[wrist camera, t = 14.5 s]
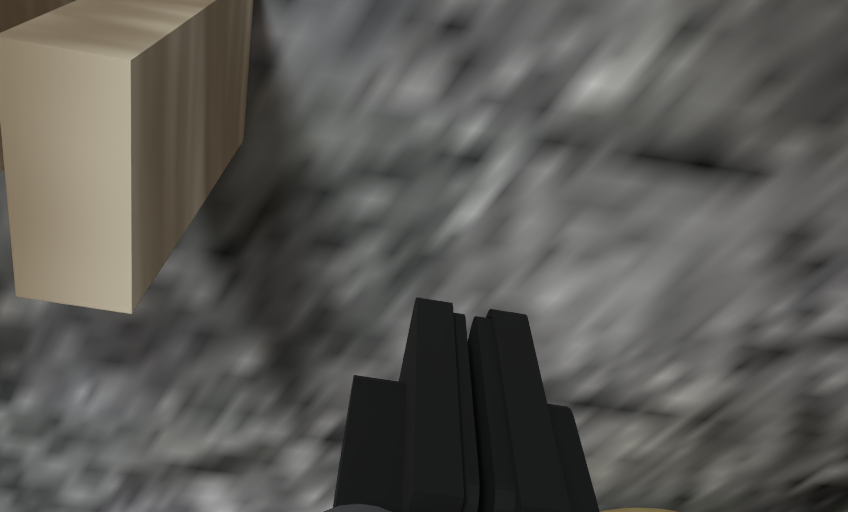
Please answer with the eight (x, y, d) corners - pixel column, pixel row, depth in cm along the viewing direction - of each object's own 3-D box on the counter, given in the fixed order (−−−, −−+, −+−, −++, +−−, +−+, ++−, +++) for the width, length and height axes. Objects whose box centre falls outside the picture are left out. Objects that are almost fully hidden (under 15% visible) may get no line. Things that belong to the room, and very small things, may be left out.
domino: (255, -28, 21) (130, 60, 12) (243, 139, 24) (132, 314, 15) (176, -43, 21) (-8, 36, 12) (172, 127, 23) (16, 296, 15)
